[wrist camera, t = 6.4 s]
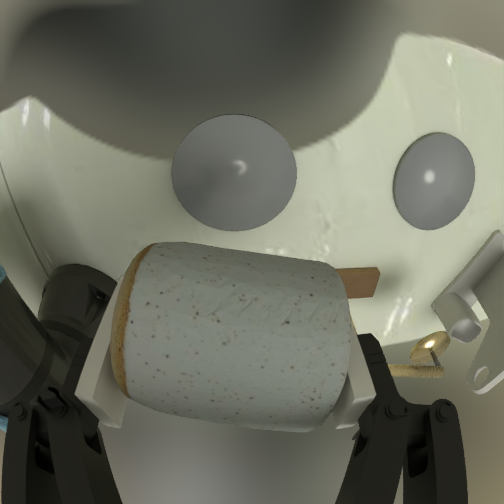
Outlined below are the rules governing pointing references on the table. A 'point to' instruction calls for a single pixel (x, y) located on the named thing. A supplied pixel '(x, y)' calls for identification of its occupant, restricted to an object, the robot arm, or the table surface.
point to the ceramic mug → (231, 336)
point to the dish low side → (234, 172)
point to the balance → (427, 349)
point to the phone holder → (492, 301)
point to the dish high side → (434, 181)
